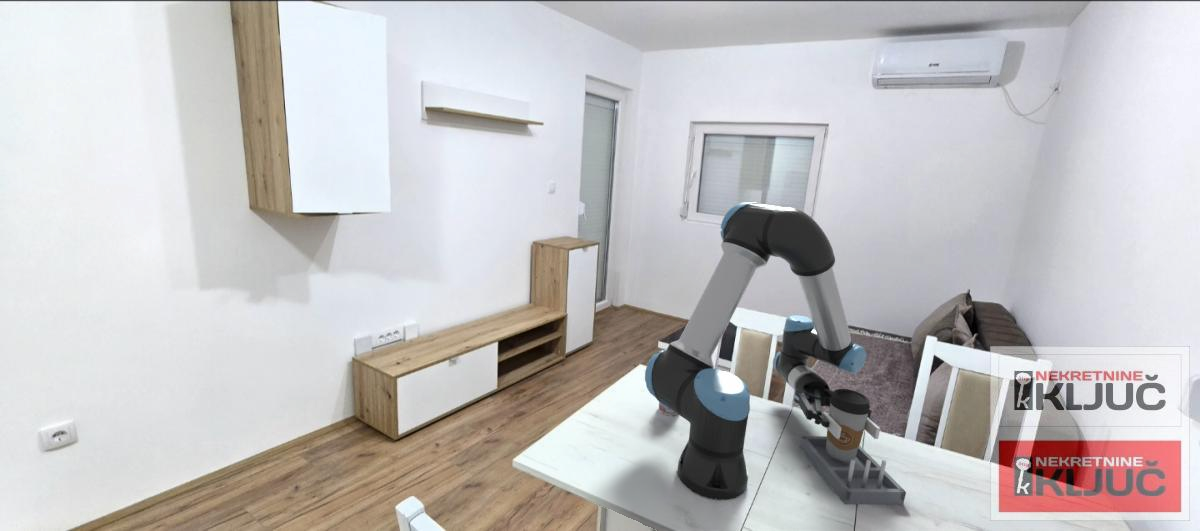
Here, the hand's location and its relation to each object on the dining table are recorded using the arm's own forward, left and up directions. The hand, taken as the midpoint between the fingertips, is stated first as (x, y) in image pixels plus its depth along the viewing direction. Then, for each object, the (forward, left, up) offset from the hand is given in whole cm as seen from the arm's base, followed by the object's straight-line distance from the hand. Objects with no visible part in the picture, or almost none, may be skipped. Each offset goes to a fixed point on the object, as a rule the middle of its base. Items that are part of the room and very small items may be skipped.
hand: (858, 433), depth 106 cm
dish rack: (-1, +1, -11) cm, 11 cm away
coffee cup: (-4, +3, -9) cm, 10 cm away
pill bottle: (-43, -14, -11) cm, 47 cm away
